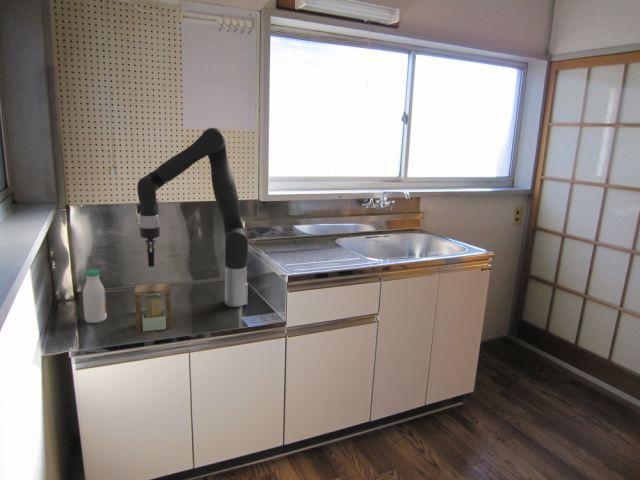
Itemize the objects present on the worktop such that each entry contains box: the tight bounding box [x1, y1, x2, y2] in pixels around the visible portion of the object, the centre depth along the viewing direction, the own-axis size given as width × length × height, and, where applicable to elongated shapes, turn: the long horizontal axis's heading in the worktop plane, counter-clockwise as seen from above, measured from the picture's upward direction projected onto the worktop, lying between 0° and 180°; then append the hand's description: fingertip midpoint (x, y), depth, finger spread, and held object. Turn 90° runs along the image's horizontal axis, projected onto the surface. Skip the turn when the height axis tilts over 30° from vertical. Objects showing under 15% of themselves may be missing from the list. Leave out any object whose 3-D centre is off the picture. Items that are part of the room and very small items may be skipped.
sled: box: [141, 293, 167, 332], centre depth 180 cm, size 8×21×7 cm, turn 21°
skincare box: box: [144, 294, 164, 318], centre depth 174 cm, size 6×4×12 cm
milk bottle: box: [82, 268, 108, 324], centre depth 175 cm, size 8×8×20 cm
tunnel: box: [134, 282, 173, 333], centre depth 174 cm, size 12×7×16 cm, turn 111°
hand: (151, 265), depth 191 cm, fingers closed
